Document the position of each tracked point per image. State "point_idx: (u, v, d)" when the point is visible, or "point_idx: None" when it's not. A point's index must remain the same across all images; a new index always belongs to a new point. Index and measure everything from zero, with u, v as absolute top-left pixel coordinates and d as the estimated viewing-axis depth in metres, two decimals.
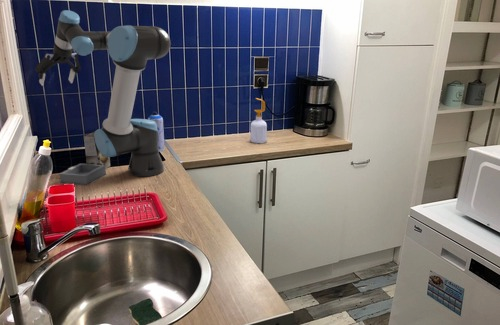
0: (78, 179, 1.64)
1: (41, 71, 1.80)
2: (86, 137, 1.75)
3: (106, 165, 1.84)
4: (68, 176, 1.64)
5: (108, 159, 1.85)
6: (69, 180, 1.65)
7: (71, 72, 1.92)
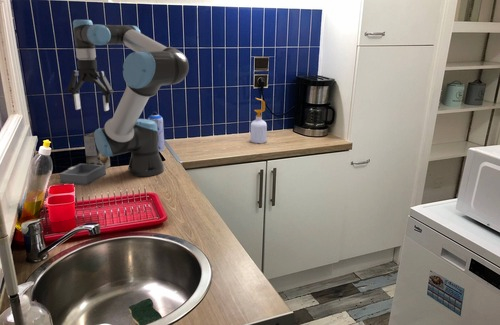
0: (78, 179, 1.64)
1: None
2: (86, 137, 1.75)
3: (106, 165, 1.84)
4: (68, 176, 1.64)
5: (108, 159, 1.85)
6: (69, 180, 1.65)
7: None
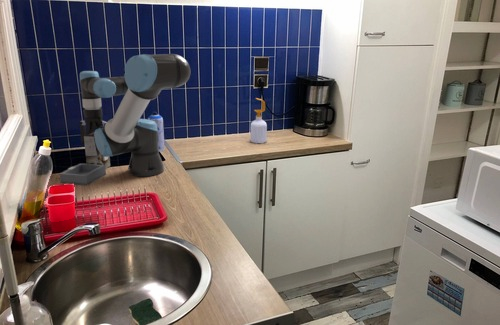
0: (78, 179, 1.64)
1: None
2: (86, 137, 1.75)
3: (106, 165, 1.84)
4: (68, 176, 1.64)
5: (108, 159, 1.85)
6: (69, 180, 1.65)
7: None
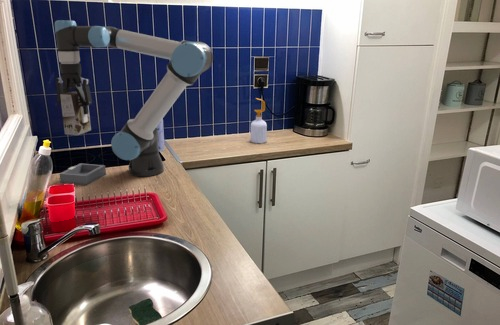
0: (78, 179, 1.64)
1: None
2: (63, 95, 1.57)
3: (86, 128, 1.66)
4: (68, 176, 1.64)
5: (88, 122, 1.67)
6: (69, 180, 1.65)
7: None
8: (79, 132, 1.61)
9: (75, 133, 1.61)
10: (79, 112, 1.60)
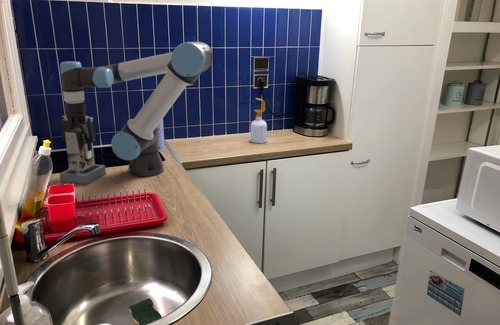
0: (78, 179, 1.64)
1: None
2: (67, 133, 1.62)
3: (90, 164, 1.70)
4: (68, 176, 1.64)
5: (92, 157, 1.71)
6: (69, 180, 1.65)
7: None
8: (83, 168, 1.66)
9: (79, 169, 1.65)
10: (83, 149, 1.65)
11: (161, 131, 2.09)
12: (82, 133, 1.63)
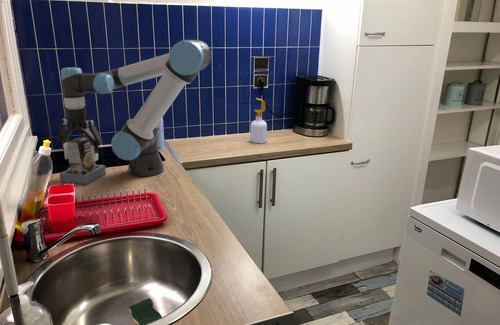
0: (78, 179, 1.64)
1: (61, 140, 1.68)
2: (69, 143, 1.63)
3: None
4: (68, 176, 1.64)
5: (94, 166, 1.72)
6: (69, 180, 1.65)
7: None
8: None
9: None
10: (85, 158, 1.66)
11: (161, 131, 2.09)
12: (84, 143, 1.64)
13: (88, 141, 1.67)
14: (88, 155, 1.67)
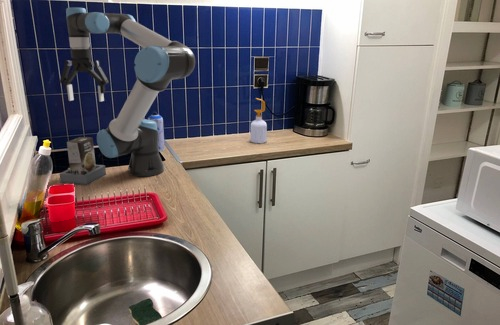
0: (78, 179, 1.64)
1: None
2: (69, 143, 1.63)
3: None
4: (68, 176, 1.64)
5: (94, 166, 1.72)
6: (69, 180, 1.65)
7: None
8: None
9: None
10: (85, 158, 1.66)
11: (161, 131, 2.09)
12: (84, 143, 1.64)
13: (88, 141, 1.67)
14: (88, 155, 1.67)
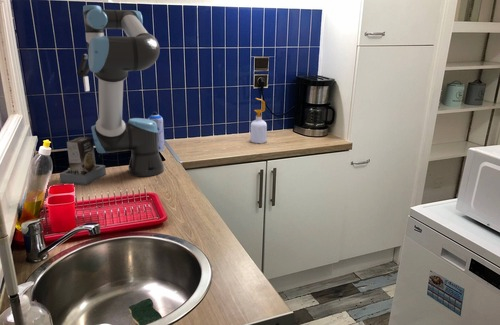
0: (78, 179, 1.64)
1: None
2: (69, 143, 1.63)
3: None
4: (68, 176, 1.64)
5: (94, 166, 1.72)
6: (69, 180, 1.65)
7: None
8: None
9: None
10: (85, 158, 1.66)
11: (161, 131, 2.09)
12: (84, 143, 1.64)
13: (88, 141, 1.67)
14: (88, 155, 1.67)
